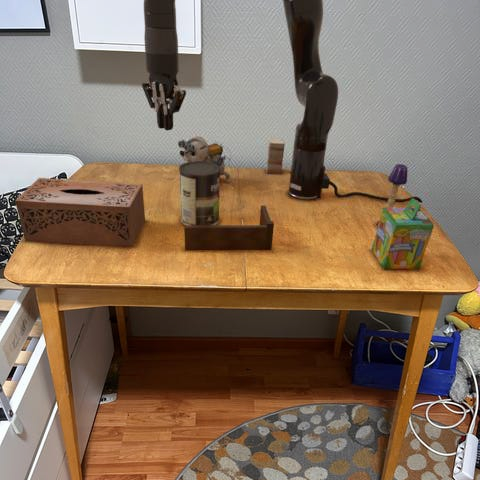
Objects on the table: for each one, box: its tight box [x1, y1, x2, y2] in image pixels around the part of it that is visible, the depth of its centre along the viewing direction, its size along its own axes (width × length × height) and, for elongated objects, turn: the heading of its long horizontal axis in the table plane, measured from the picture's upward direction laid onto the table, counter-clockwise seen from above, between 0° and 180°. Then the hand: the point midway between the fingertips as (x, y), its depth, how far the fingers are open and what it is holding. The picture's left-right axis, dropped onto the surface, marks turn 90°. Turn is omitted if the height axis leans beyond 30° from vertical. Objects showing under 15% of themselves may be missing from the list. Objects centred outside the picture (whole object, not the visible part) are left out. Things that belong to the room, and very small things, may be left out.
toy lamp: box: [376, 163, 408, 228], centre depth 122 cm, size 5×5×17 cm
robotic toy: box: [177, 135, 232, 183], centre depth 141 cm, size 13×17×15 cm
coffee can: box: [178, 161, 221, 225], centre depth 120 cm, size 10×10×14 cm
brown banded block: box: [265, 138, 286, 175], centre depth 154 cm, size 5×4×10 cm
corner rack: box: [183, 204, 275, 252], centre depth 115 cm, size 21×13×7 cm, turn 96°
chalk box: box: [371, 198, 435, 270], centre depth 107 cm, size 9×9×15 cm
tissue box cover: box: [14, 177, 146, 248], centre depth 114 cm, size 26×14×10 cm, turn 88°
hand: (165, 128), depth 117 cm, fingers closed
